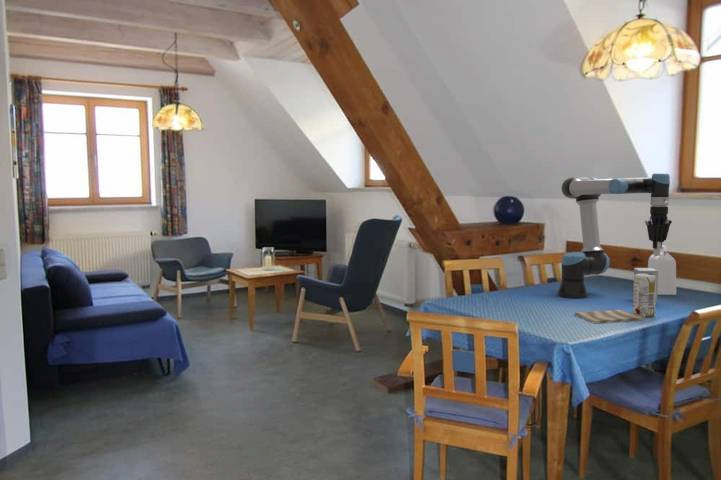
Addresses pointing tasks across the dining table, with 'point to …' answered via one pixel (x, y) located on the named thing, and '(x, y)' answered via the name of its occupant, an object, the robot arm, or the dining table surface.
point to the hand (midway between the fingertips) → (656, 255)
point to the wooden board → (609, 316)
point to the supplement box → (650, 272)
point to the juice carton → (644, 295)
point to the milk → (664, 272)
